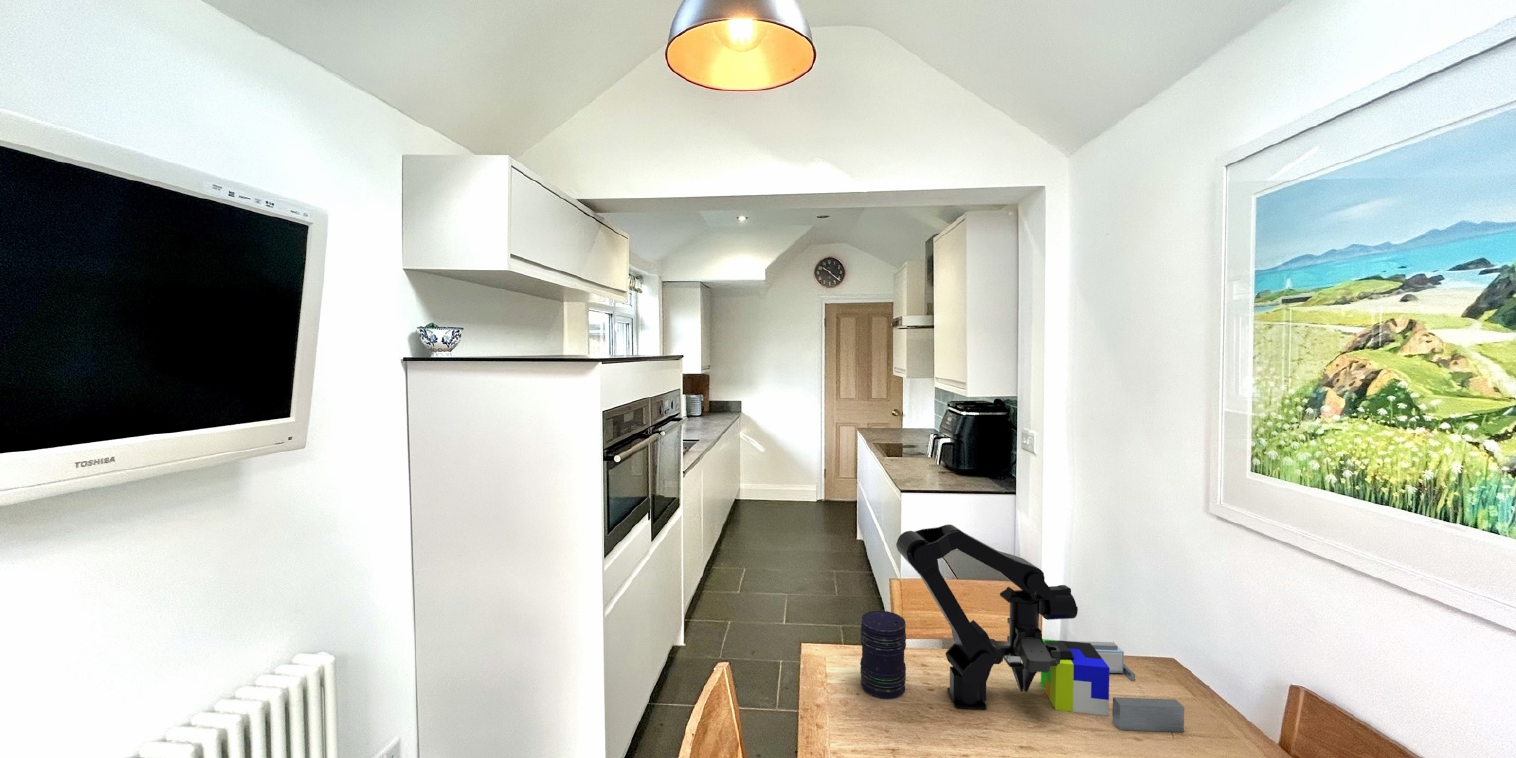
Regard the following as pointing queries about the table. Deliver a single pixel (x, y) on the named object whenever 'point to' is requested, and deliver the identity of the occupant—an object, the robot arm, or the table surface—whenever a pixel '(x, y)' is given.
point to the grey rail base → (1147, 712)
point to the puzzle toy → (1079, 681)
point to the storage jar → (883, 654)
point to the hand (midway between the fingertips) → (1023, 690)
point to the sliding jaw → (1109, 655)
